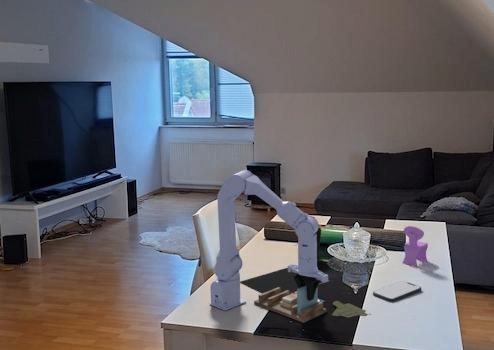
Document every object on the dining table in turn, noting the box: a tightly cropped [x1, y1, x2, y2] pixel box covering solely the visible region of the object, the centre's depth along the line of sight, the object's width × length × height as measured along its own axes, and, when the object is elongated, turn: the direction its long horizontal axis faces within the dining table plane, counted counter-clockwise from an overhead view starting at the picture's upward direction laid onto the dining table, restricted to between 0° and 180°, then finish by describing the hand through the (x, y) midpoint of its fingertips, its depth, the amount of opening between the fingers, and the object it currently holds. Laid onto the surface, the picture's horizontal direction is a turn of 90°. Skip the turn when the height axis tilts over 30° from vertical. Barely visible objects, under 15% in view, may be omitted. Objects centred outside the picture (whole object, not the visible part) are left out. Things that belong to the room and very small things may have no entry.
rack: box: [253, 287, 328, 324], centre depth 184 cm, size 11×21×3 cm, turn 44°
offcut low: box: [280, 301, 297, 309], centre depth 184 cm, size 6×4×1 cm
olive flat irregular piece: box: [331, 300, 372, 319], centre depth 179 cm, size 11×18×1 cm, turn 36°
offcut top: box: [282, 293, 297, 304], centre depth 185 cm, size 5×4×1 cm
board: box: [296, 286, 319, 315], centre depth 179 cm, size 8×2×8 cm, turn 134°
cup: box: [315, 227, 322, 260], centre depth 232 cm, size 8×8×12 cm
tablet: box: [240, 267, 331, 294], centre depth 208 cm, size 27×1×20 cm
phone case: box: [372, 280, 422, 303], centre depth 195 cm, size 9×2×16 cm
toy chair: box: [401, 225, 429, 267], centre depth 224 cm, size 8×9×15 cm
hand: (307, 298), depth 179 cm, fingers closed
